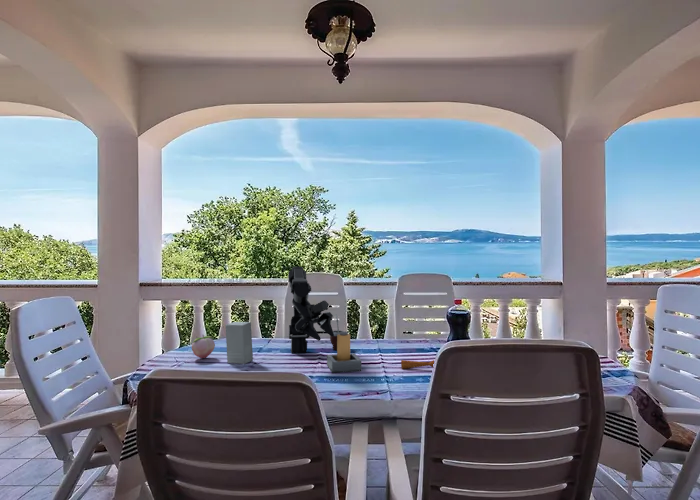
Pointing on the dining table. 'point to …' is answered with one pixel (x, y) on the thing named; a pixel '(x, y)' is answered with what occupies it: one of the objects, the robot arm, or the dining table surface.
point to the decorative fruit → (203, 346)
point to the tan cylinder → (343, 346)
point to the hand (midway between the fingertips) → (326, 337)
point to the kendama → (415, 364)
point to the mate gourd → (335, 337)
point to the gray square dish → (344, 364)
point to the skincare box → (239, 342)
